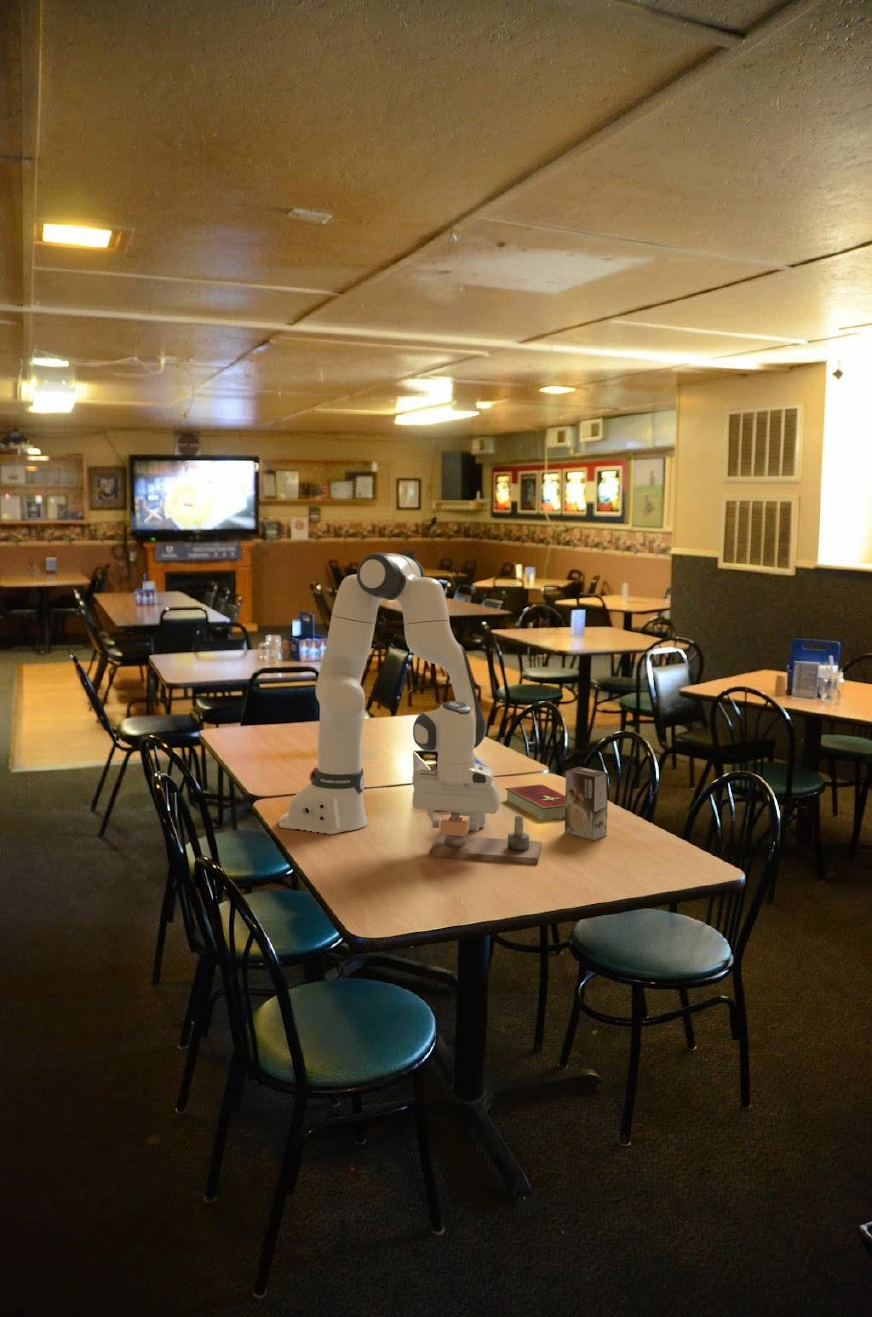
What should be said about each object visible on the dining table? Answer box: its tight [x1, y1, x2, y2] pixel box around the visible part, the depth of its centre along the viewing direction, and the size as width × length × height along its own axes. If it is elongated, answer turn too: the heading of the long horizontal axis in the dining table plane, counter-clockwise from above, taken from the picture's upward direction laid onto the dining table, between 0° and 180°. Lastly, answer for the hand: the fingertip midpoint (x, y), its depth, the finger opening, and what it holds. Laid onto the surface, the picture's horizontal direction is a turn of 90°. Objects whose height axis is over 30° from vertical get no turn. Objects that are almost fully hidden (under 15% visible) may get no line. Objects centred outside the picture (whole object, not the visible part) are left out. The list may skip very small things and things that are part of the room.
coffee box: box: [564, 766, 609, 841], centre depth 250 cm, size 9×6×16 cm
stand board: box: [428, 811, 542, 865], centre depth 236 cm, size 25×12×10 cm, turn 80°
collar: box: [439, 814, 470, 837], centre depth 237 cm, size 6×6×3 cm
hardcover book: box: [505, 783, 565, 821], centre depth 273 cm, size 12×21×4 cm, turn 24°
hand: (455, 828), depth 237 cm, fingers open, 8 cm apart
